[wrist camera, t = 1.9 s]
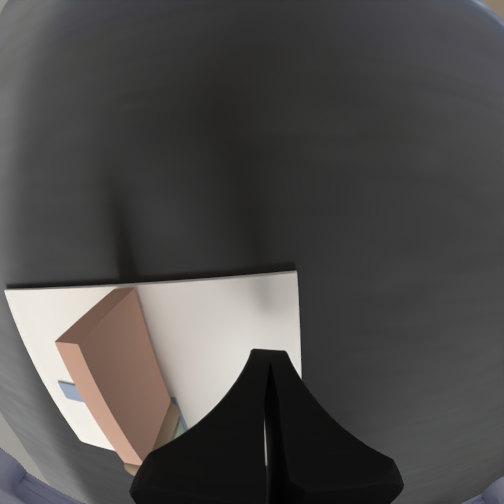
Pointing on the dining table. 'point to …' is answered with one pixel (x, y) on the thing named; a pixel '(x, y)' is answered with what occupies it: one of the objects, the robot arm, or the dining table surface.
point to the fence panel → (120, 376)
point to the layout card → (169, 336)
